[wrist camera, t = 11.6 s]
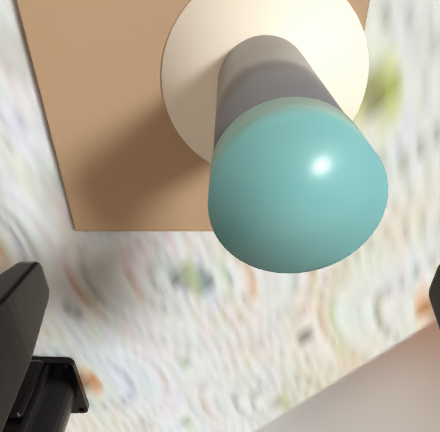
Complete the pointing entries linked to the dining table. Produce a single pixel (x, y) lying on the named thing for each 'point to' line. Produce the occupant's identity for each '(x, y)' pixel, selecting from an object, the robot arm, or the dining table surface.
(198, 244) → the dining table surface
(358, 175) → the marker
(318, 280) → the dining table surface
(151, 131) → the kraft pad
